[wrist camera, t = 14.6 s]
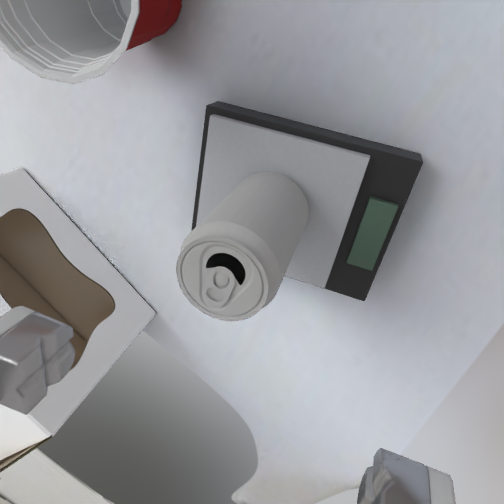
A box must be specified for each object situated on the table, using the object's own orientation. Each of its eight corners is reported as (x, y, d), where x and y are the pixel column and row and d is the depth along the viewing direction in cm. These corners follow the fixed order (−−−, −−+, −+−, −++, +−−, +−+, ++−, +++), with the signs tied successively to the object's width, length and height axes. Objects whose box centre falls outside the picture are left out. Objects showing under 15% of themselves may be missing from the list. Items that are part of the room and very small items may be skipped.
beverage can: (324, 190, 31) (292, 264, 21) (290, 254, 34) (250, 344, 24) (250, 155, 31) (185, 210, 21) (225, 221, 35) (158, 296, 25)
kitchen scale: (420, 153, 31) (424, 164, 28) (365, 287, 37) (364, 306, 35) (217, 100, 33) (202, 106, 31) (199, 234, 40) (185, 248, 37)
